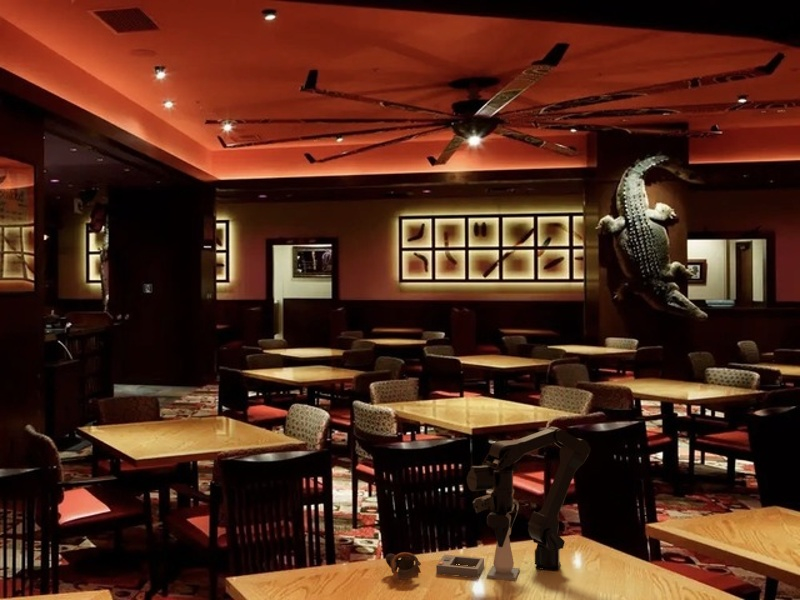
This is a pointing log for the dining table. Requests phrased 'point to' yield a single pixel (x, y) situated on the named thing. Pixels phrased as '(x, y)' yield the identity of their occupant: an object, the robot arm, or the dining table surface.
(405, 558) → the pottery mug
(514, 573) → the slate coaster
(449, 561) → the grey rectangular tray
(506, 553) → the salt shaker
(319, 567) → the dining table surface
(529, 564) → the dining table surface
